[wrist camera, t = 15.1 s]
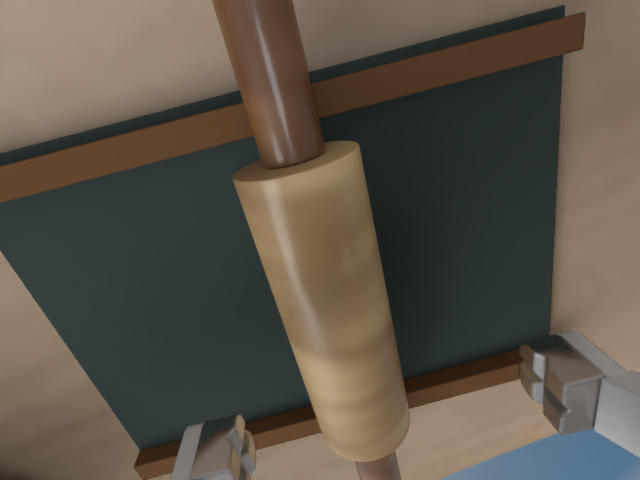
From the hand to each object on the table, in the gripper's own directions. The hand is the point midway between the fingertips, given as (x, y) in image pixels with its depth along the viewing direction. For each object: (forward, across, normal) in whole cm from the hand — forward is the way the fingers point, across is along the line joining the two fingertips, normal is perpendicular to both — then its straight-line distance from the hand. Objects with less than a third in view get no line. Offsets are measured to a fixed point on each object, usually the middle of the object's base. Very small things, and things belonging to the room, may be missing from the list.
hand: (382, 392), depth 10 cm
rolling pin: (+8, +1, 0) cm, 8 cm away
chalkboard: (+8, +2, 0) cm, 8 cm away
